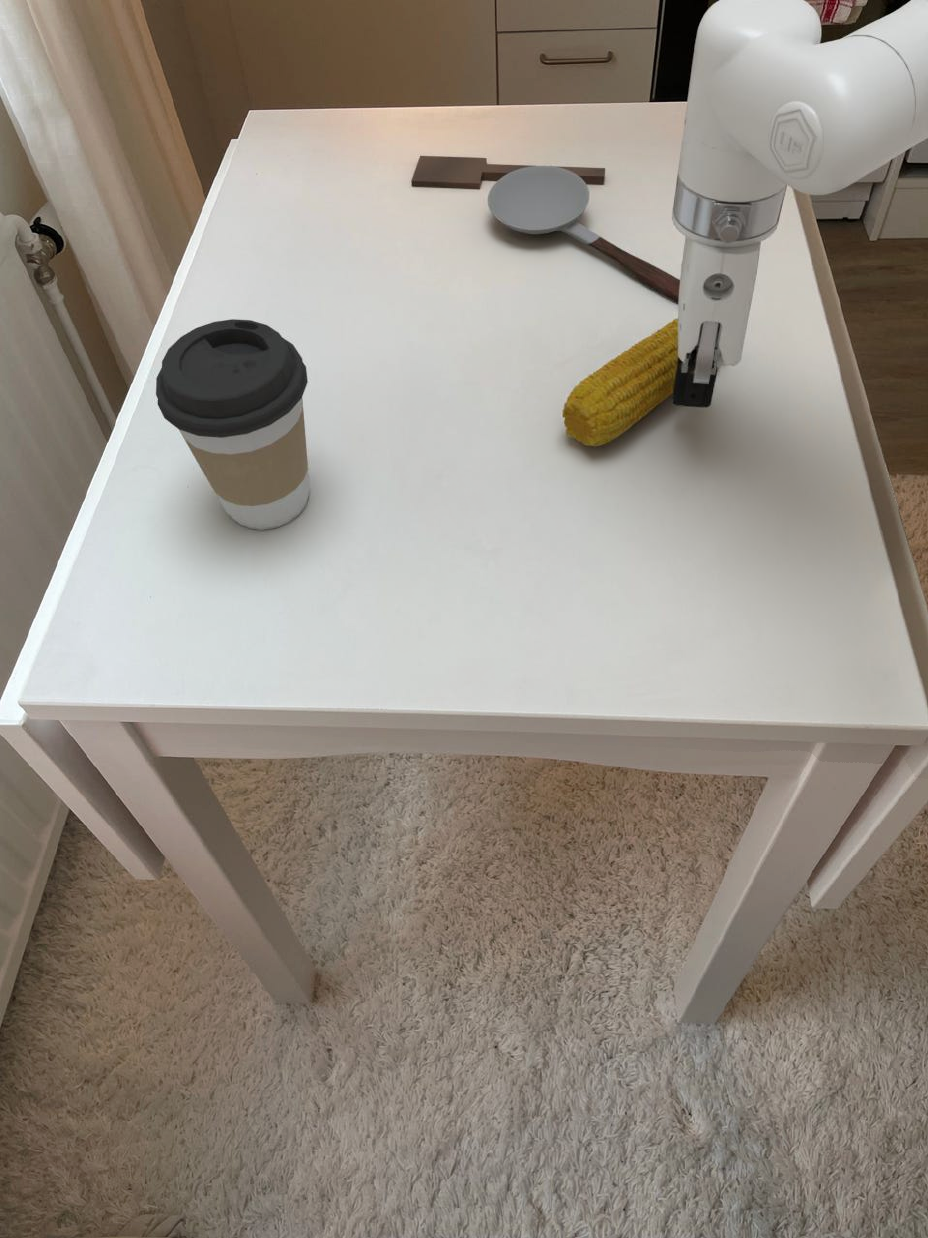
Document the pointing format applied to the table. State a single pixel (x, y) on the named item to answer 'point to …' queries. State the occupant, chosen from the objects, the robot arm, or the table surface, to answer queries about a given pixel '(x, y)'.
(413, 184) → the spatula
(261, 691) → the table surface
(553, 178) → the spoon
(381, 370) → the table surface
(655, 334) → the food
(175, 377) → the coffee cup
